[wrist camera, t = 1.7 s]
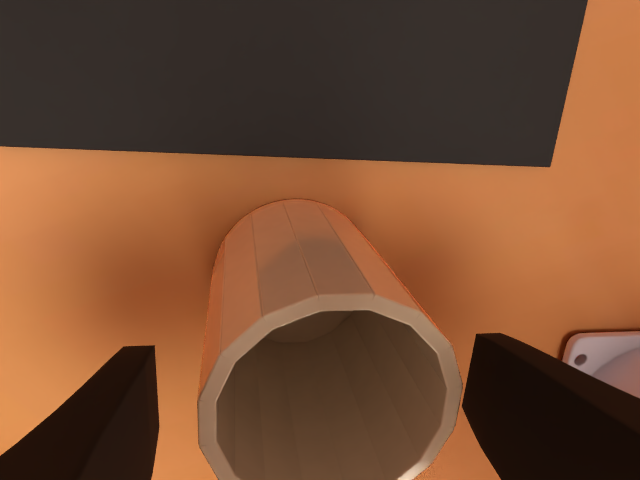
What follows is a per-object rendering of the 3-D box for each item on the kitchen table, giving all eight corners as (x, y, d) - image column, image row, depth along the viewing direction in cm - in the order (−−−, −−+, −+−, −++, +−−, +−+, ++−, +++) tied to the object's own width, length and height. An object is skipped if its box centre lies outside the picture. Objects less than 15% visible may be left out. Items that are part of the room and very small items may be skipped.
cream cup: (362, 340, 17) (440, 504, 11) (214, 346, 16) (200, 529, 10) (377, 200, 15) (481, 292, 9) (213, 196, 14) (194, 296, 8)
